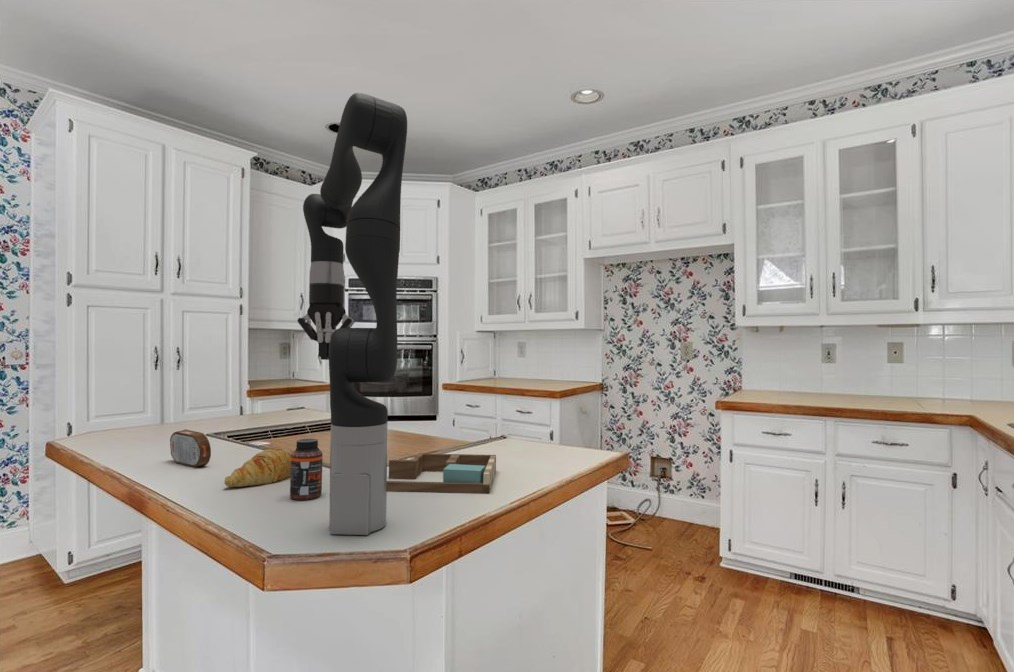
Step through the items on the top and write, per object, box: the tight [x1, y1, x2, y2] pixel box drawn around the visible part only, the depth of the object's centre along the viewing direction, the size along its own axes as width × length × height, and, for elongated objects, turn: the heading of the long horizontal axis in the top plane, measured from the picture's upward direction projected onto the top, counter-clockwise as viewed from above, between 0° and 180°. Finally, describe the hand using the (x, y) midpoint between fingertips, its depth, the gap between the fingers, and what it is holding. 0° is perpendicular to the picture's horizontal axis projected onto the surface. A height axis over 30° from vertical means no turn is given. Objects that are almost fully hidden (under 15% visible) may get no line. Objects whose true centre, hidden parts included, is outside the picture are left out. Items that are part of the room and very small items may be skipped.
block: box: [442, 464, 485, 483], centre depth 114 cm, size 5×8×4 cm, turn 80°
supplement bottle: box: [289, 438, 323, 501], centre depth 106 cm, size 6×6×11 cm
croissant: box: [224, 448, 292, 488], centre depth 120 cm, size 21×10×8 cm, turn 157°
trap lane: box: [387, 453, 497, 494], centre depth 119 cm, size 19×24×4 cm
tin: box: [169, 429, 212, 468], centre depth 133 cm, size 15×3×8 cm, turn 58°
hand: (325, 359), depth 120 cm, fingers closed
